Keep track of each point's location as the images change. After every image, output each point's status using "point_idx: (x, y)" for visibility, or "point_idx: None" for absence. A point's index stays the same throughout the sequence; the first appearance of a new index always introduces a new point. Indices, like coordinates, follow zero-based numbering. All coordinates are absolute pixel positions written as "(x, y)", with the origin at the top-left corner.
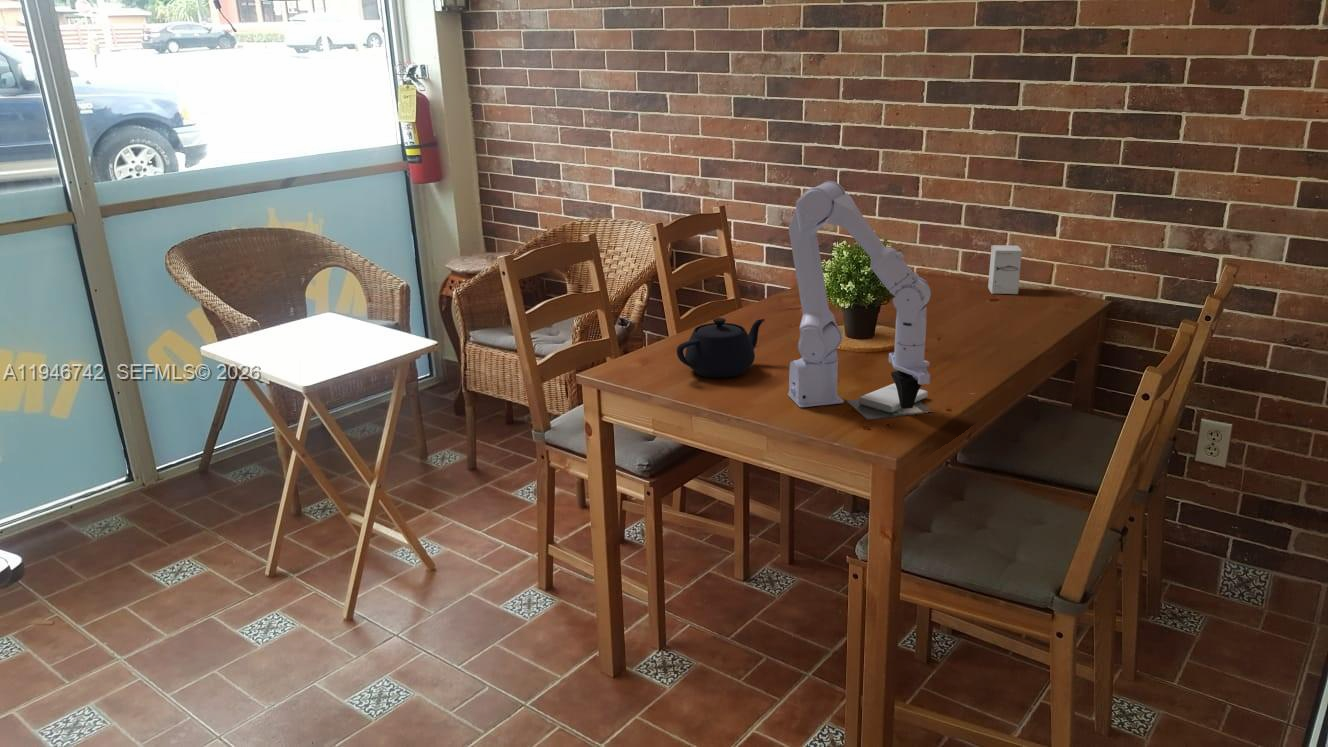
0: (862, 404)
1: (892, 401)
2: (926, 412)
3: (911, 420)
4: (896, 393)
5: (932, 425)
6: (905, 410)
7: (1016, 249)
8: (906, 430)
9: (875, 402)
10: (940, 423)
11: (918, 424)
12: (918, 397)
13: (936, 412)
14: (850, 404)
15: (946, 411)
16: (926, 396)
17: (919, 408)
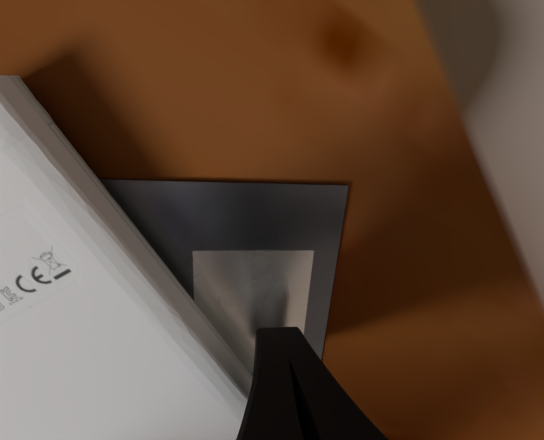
0: None
1: (208, 430)
2: (333, 234)
3: (390, 345)
4: (33, 365)
5: (501, 279)
6: (255, 332)
7: None
8: (476, 398)
9: None
10: (506, 228)
11: (451, 334)
12: (108, 214)
13: (348, 164)
14: None
15: (363, 80)
16: (28, 93)
17: (249, 244)
